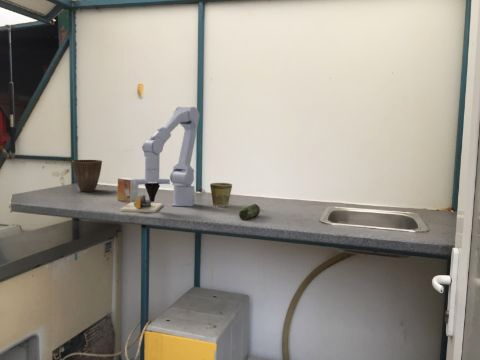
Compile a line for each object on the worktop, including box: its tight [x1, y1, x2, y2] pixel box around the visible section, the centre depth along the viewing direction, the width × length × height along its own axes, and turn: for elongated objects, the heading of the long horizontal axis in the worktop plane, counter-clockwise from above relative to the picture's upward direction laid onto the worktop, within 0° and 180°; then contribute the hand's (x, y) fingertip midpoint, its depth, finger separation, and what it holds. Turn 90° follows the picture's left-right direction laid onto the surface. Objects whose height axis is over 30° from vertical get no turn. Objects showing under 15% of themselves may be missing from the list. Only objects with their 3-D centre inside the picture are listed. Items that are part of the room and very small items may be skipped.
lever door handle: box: [134, 194, 152, 208], centre depth 170 cm, size 12×7×4 cm, turn 0°
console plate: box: [120, 202, 163, 213], centre depth 173 cm, size 14×16×1 cm
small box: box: [117, 177, 139, 203], centre depth 189 cm, size 8×6×10 cm
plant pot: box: [71, 159, 103, 193], centre depth 215 cm, size 15×15×16 cm
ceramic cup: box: [209, 182, 233, 208], centre depth 186 cm, size 13×10×10 cm
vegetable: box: [238, 203, 261, 220], centre depth 162 cm, size 14×5×5 cm, turn 155°
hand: (151, 201), depth 168 cm, fingers closed
